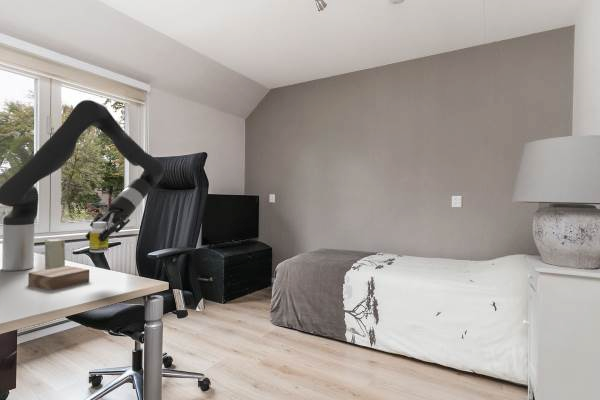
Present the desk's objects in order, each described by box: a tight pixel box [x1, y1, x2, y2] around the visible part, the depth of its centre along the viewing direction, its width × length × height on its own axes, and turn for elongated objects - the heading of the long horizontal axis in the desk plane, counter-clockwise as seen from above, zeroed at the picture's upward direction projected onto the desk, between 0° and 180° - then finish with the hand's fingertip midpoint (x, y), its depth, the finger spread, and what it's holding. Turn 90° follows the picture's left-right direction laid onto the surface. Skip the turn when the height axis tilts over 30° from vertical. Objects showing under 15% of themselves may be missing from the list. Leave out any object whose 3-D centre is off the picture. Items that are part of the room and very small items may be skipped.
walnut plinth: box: [27, 265, 90, 291], centre depth 111 cm, size 12×12×4 cm
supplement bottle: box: [88, 222, 110, 253], centre depth 111 cm, size 5×5×10 cm
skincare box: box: [44, 238, 66, 270], centre depth 124 cm, size 6×4×12 cm
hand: (94, 239), depth 109 cm, fingers closed on supplement bottle, 5 cm apart
